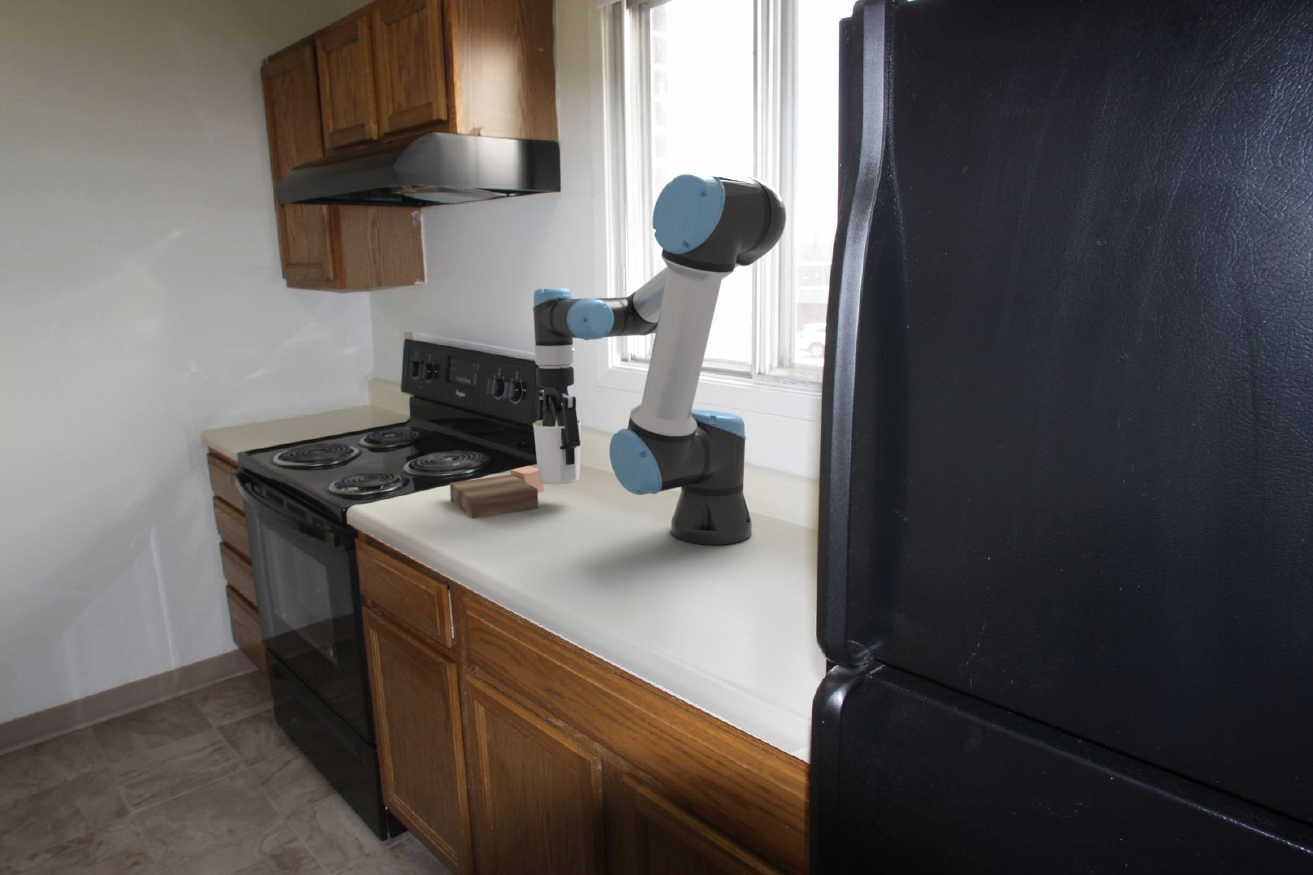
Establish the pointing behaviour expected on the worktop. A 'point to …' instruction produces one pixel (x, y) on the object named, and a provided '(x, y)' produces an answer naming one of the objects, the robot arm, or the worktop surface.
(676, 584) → the worktop surface
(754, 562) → the worktop surface
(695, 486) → the robot arm
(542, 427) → the white cup
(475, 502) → the walnut slab
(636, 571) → the worktop surface
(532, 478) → the terracotta cube
